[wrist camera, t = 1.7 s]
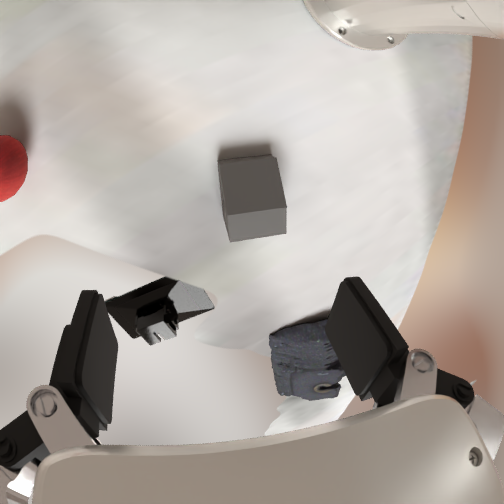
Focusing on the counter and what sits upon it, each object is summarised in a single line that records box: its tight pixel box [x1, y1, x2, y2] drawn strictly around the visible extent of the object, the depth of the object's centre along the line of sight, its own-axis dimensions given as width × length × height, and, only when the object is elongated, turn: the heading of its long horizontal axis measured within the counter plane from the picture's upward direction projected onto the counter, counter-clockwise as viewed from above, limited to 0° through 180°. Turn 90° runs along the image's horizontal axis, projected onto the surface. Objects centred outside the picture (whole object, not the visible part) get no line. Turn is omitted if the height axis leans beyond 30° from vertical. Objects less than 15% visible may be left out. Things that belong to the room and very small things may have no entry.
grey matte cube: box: [218, 155, 287, 242], centre depth 26 cm, size 5×6×5 cm
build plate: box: [104, 276, 215, 345], centre depth 32 cm, size 12×7×5 cm, turn 109°
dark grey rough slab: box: [269, 320, 346, 401], centre depth 45 cm, size 15×22×5 cm
